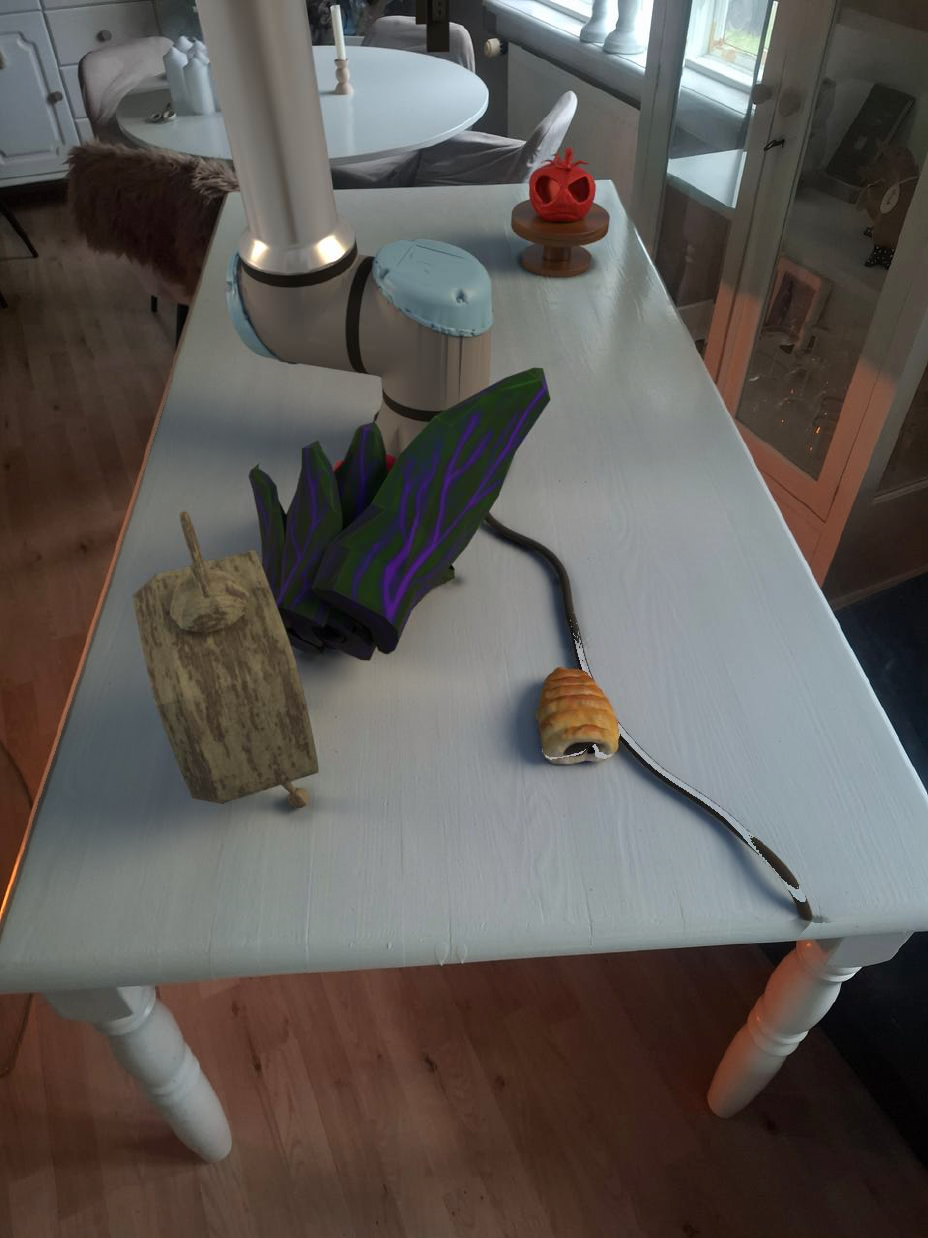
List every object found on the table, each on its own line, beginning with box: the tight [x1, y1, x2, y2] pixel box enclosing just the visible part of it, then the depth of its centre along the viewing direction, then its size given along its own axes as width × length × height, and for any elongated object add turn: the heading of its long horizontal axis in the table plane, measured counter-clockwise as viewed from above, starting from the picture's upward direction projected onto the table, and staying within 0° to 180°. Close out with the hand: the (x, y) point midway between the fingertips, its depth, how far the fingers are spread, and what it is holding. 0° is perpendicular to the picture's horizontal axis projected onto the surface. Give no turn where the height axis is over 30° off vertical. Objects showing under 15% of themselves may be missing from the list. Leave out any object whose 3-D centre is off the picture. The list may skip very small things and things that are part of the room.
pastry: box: [535, 666, 619, 765], centre depth 73 cm, size 9×7×4 cm
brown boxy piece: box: [132, 510, 320, 809], centre depth 62 cm, size 14×9×25 cm, turn 22°
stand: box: [510, 198, 611, 278], centre depth 134 cm, size 15×15×7 cm
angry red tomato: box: [528, 147, 597, 222], centre depth 128 cm, size 10×10×9 cm
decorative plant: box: [248, 367, 552, 662], centre depth 79 cm, size 21×26×30 cm
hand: (431, 37), depth 109 cm, fingers open, 13 cm apart
